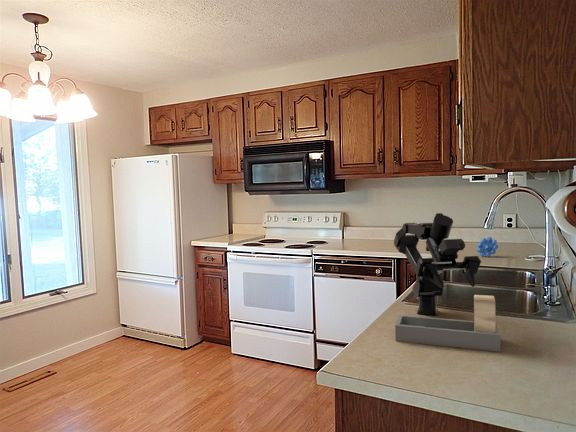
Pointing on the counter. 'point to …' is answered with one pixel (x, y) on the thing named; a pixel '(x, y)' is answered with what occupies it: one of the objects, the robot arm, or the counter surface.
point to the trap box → (445, 333)
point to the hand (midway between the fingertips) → (458, 286)
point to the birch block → (484, 313)
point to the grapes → (487, 246)
